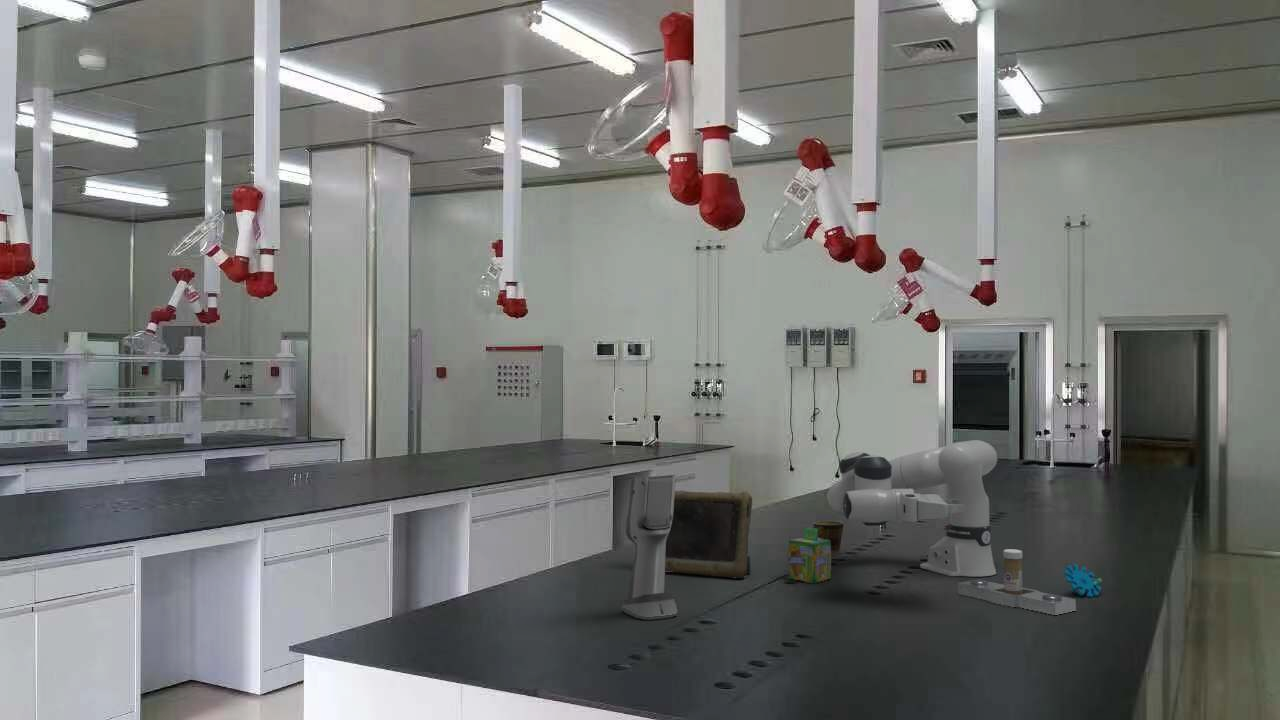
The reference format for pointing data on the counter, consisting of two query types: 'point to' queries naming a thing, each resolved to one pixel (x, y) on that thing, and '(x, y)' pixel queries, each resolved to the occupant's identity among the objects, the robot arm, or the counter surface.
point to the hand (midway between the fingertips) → (962, 505)
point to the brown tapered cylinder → (830, 532)
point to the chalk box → (810, 558)
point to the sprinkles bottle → (1013, 571)
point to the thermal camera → (650, 544)
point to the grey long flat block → (1017, 597)
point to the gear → (1082, 580)
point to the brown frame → (709, 534)
